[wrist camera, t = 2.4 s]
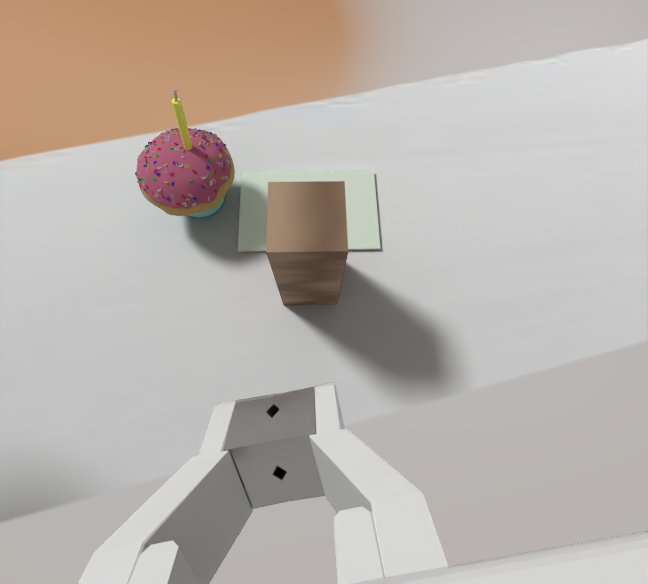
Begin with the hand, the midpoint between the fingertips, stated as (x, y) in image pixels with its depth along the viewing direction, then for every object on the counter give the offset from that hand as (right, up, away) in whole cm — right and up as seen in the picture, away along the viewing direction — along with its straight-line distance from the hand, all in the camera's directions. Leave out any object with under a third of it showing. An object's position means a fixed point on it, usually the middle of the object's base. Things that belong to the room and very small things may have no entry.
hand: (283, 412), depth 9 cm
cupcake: (-12, +13, +27) cm, 32 cm away
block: (0, +4, +24) cm, 25 cm away
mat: (-1, +11, +27) cm, 29 cm away
